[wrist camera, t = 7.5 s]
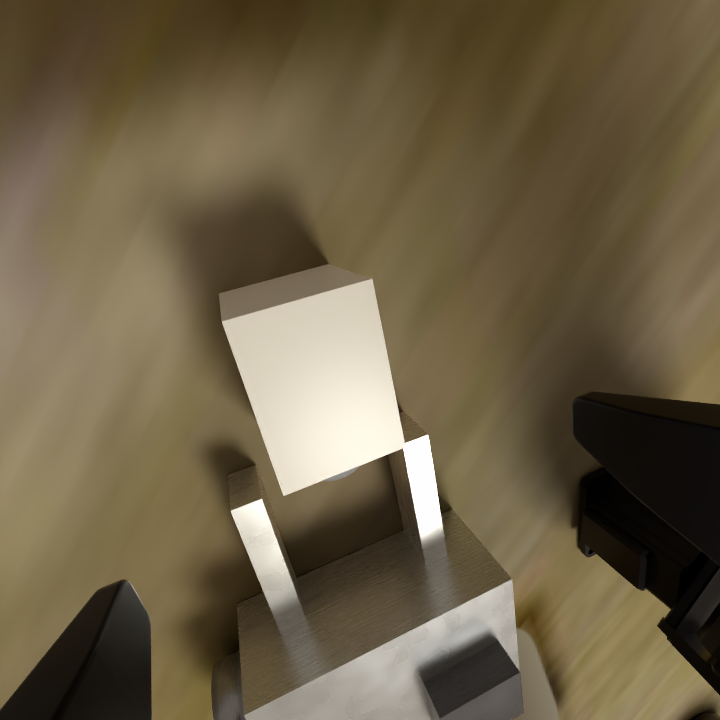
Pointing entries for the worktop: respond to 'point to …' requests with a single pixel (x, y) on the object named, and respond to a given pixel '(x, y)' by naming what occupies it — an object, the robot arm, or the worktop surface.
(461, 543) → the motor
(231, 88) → the worktop surface
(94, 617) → the robot arm
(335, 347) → the white block
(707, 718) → the ink bottle
